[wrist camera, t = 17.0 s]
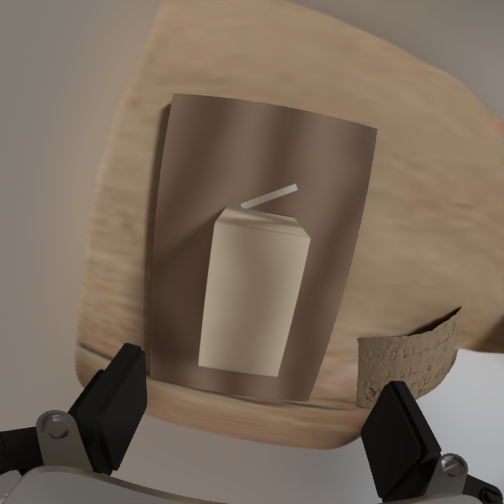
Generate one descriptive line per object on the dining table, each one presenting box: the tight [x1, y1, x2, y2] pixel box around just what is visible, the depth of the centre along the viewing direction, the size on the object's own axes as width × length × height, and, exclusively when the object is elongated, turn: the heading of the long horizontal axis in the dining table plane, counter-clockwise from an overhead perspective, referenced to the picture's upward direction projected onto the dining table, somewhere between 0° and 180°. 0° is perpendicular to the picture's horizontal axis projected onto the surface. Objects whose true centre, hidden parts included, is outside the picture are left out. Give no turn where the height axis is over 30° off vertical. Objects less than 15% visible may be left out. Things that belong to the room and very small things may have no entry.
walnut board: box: [150, 94, 377, 401], centre depth 25 cm, size 16×26×2 cm, turn 171°
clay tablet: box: [356, 307, 462, 408], centre depth 28 cm, size 14×10×3 cm
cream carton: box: [198, 205, 311, 377], centre depth 20 cm, size 5×9×8 cm, turn 171°
